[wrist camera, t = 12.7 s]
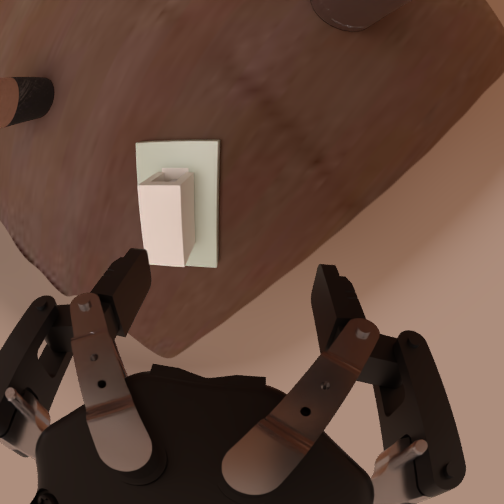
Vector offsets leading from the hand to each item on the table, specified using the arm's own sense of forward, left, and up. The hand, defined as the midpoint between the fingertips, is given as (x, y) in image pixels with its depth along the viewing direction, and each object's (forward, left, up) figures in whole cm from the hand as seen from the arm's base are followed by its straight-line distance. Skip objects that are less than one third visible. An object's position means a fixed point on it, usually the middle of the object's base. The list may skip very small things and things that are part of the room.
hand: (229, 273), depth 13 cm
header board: (+6, -9, -25) cm, 28 cm away
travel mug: (-13, -35, -26) cm, 45 cm away
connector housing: (+6, -9, -23) cm, 26 cm away
